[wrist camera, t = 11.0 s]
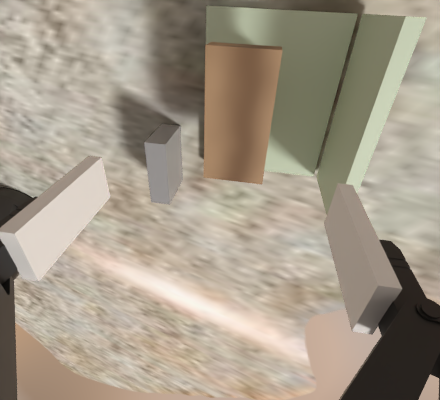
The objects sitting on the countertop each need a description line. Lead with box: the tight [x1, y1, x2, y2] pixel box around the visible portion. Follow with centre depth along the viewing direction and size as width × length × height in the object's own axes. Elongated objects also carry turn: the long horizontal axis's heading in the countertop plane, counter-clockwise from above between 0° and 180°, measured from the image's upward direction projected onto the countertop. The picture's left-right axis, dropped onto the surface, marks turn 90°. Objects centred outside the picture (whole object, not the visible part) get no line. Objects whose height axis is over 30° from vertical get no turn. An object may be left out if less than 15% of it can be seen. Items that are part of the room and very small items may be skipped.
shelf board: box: [204, 42, 283, 184], centre depth 26 cm, size 6×12×2 cm, turn 177°
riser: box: [144, 124, 182, 204], centre depth 35 cm, size 2×8×6 cm, turn 178°
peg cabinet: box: [206, 6, 426, 214], centre depth 27 cm, size 16×17×11 cm
